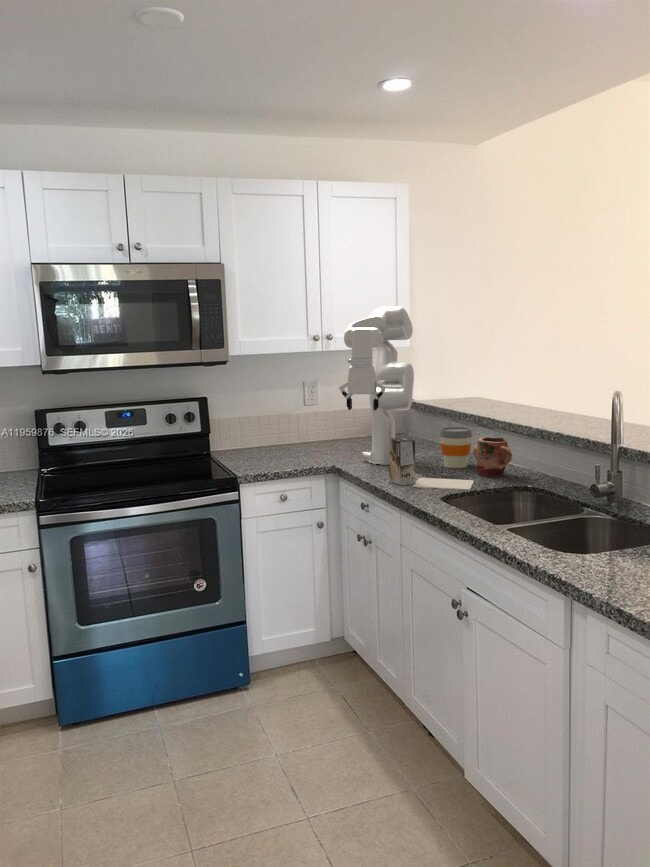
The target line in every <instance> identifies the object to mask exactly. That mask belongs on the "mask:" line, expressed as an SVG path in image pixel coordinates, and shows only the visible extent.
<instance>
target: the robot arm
mask: <svg viewBox="0 0 650 867" xmlns="http://www.w3.org/2000/svg"><path fill="white" fill-rule="evenodd" d="M413 329H414V328H413V323H412V321H411V319H410V316H409V314H408V312H407V310H406V309H405V308H404V307H402V306H381V307H377V308H375V309H374V310H373V311H372V312H371V313H370V314H369V316H368V317H365V318H363V319H360V320H356V321H354V322H352V323H350V324H349V325H348V327H346V329H345V331H344V335H343V341H344V344H345V346H346V347H347V348H348V349H351V358H350V359H348V360H347V363H348V364H350V365H351V366H349V368H348V376H347V382H346V383H344V384H342V385H340V386H339V387H338V388H339V390H340V392H341V394H342V396H343V397H344V398H345V399H346V408H347V410H348V411H350V410H352V409H353V399H352V396H354V395H369V398H368V399H369V405H370V411H371V451H369V452H367V451H363V452H362V457H364V458H369V459H368V463H369V464H371V463H372V464H371V465H376V464H380V465H379V466H389V439H391V438H396V421H395V418H394V416H393V414H392V413H391V412H390V411H407V410H409V409H411V407H412V404H413V395H414V394H413V391H414V382H415V381H414V380H415V379H414V378H415V372H414V367H413V365H412V364H411V363H409V362H398V350H397V349H396V348H395V346H394V345H393V344H392V342H390V341H407V340H410V339H411V337H412V336H413ZM373 349H376V352H377V353H376V366H373ZM346 388H347V391H346ZM347 392H348V393H347Z"/></svg>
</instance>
